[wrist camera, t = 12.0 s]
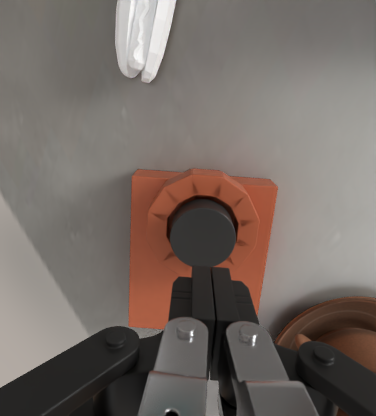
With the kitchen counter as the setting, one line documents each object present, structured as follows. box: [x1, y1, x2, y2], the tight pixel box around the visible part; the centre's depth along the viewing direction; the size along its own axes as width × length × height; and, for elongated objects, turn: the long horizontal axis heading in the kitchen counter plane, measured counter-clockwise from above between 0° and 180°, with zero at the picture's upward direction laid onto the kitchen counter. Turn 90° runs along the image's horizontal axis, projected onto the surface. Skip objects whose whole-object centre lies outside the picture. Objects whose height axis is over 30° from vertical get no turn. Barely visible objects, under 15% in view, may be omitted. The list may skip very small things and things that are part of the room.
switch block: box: [129, 169, 278, 329], centre depth 22 cm, size 12×9×4 cm
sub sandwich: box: [115, 0, 176, 83], centre depth 18 cm, size 3×8×3 cm, turn 166°
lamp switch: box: [170, 199, 236, 268], centre depth 19 cm, size 4×4×2 cm
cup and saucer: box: [274, 297, 376, 416], centre depth 23 cm, size 12×12×6 cm
